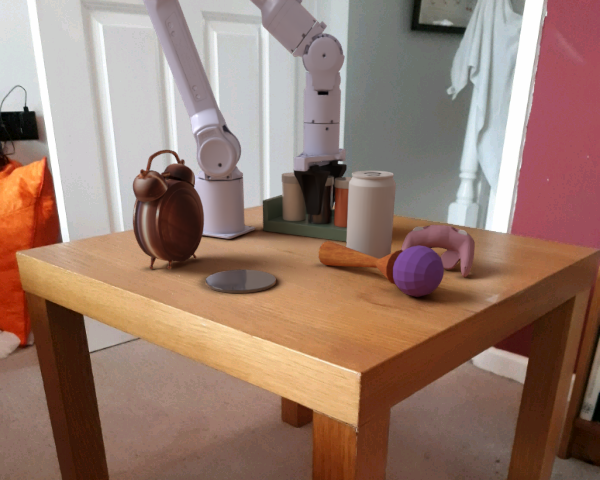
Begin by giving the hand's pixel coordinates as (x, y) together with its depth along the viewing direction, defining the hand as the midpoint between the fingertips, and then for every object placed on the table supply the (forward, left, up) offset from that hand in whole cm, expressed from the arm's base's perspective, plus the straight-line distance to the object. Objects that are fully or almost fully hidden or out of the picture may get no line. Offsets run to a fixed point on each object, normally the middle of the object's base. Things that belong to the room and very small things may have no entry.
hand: (319, 211), depth 105 cm
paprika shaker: (+5, 0, -2) cm, 5 cm away
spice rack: (0, +1, -3) cm, 4 cm away
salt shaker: (-5, 0, -2) cm, 5 cm away
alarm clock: (-9, -28, -4) cm, 29 cm away
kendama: (+19, -21, -4) cm, 29 cm away
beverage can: (+14, -12, -4) cm, 19 cm away
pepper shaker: (0, 0, -2) cm, 2 cm away
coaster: (+4, -30, -3) cm, 30 cm away
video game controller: (+24, -12, -4) cm, 27 cm away
